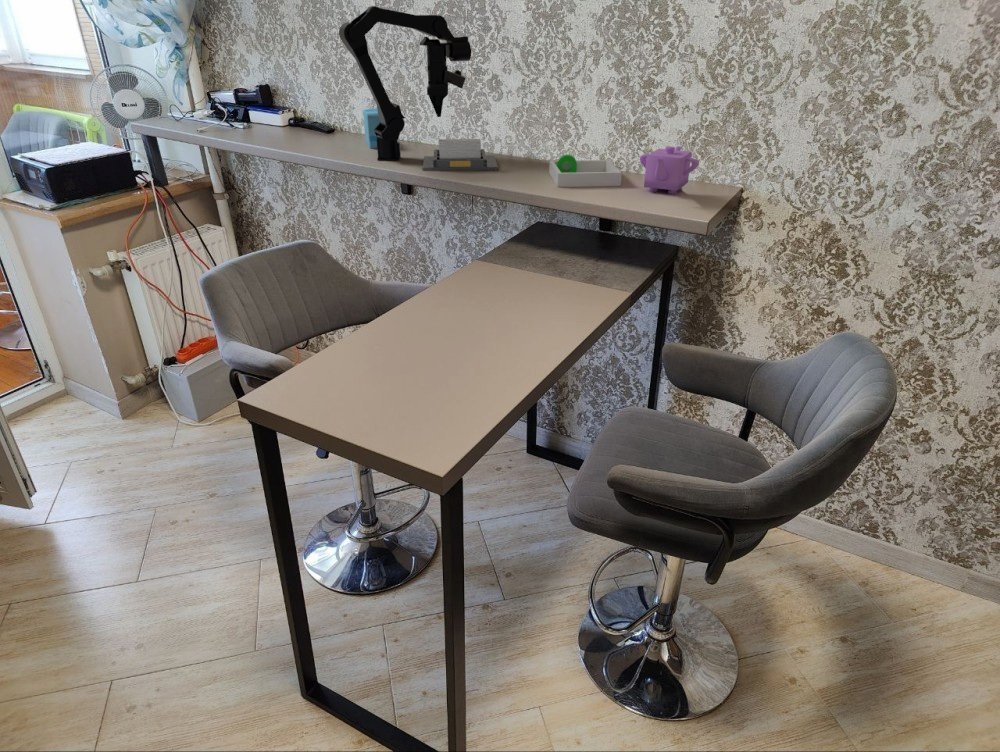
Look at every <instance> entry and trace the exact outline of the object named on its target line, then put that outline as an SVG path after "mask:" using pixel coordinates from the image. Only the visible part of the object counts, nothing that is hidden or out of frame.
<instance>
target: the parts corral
mask: <svg viewBox="0 0 1000 752" xmlns="http://www.w3.org/2000/svg"><path fill="white" fill-rule="evenodd" d="M576 162H577V172H576V173H561V172H560V170H559V169H558V167H557V163H558V160H549V169H548V172H549V175H550V177H551V178H552V180H553V183H555V185H556V187H557V188H571V187H573V188H576V187H577V188H579V187H581V188H583V187H584V188H585V187H587V188H588V187H589V188H590V187H621V185H622V175H623V174H622V172H621V170H619V168H618V167H616V166H615V165H614V164H613V163H612V162H611V161H610V160H608V159H595V160H593V159H592V160H591V159H590V160H585V159H584V160H580V159H579V160H576ZM571 167H572V164H571V163H570V162H564V163H563V165H562V168H563V169H564V170H569V169H571Z"/></svg>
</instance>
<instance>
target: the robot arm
mask: <svg viewBox="0 0 1000 752" xmlns="http://www.w3.org/2000/svg"><path fill="white" fill-rule="evenodd" d="M378 23H381V24H386V25H391V26H397V27H402V28H406V29H412V30H415V31H417V32H419V33H422V34H424V35H426V36H424V37H423V39H422V40H420V42H419V46H425V47H426V60H427V61H426V62H427V87H426V95H427V96H428V98H429V99H430V100H429V101H430V102H431V104H432V107H433V110H434V113H435V114H436V117H437V118H441V116H442V111H443V104H444V99H445V98H446V97H447V96H448V95H449V84H451V85H453V86H456V87H457V88H459V89H463V88H464V85H465V81H466V77H465V76H463V75H462V71H461V70H458V69H456V70H455V71H454V72H453V71H451V70H449V67H448V66H447V58H448V59H449V61H450V62H468V61H470V60H471V58H472V48H471V44H470V42H469V37H468V36H466V35H464V36H463V35H462V36H454V35H453V33H452V32H451V30H450V29H449V27H448V21H447V20H446V18H445V17H444V16H442V15H440V14H439V15H437V14H411V13H406V12H401V11H398V10H391V9H386V8H382V7H381V8H380V6H376V5H375V6H374V5H371V6H368V7H367V8H366V9H365V10H364V11H363V12H362V13H360V14H359V15H358V16H356V17H355V18H354V19H352V20H351V21H350V22H344V23H342V24H341V25H340V27H339V31H338V35H339V38H340V40H341V42H342V43H343V45H344V46H345V47H346V49H347V50H348V51H349V53H350V54H351V55H352V57H353V58H354V59H355V62H356V64H357V66H358V68H359V71H360V73H361V74H362V77H363V79H364V81H365V83H366V85H367V87H368V89H369V91H370V94H371V96H372V98H373V100H374V103H375V105H376V109H377V110H378V116H379V119H380V123H379V124H378V125H377V127H376V128H375V129H374V132H375V134H376V136H377V148H376V149H377V160H376V161H399V159H400V158H401V154H402V153H401V142H399V139H400V134H401V133H402V131H403V130H404V127H405V119H406V117H405V116H404V115H403V113H402V109H401V106H400V104H397V103H394V102H392V101H391V99H390V98H389V96H388V94H387V91H386V89H385V87H384V84H383V82H382V80H381V78H380V75H379V74H378V71H377V70H376V66H375V64H374V62H373V60H372V58H371V57H370V54H369V46H368V42H367V38H366V35H367V34H368V33H369V32H370V31H371V30H372V29H373V28H374V27H375V25H376V24H378ZM429 37H435V38H429ZM436 38H437V39H436ZM441 41H446V42H441Z"/></svg>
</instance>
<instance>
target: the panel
mask: <svg viewBox="0 0 1000 752" xmlns="http://www.w3.org/2000/svg"><path fill="white" fill-rule="evenodd" d="M481 142H482V141H481V138H453V139H452V138H450V139H448V138H445V139H444V138H441V139H440V138H439V139H438V150H439V154H440V160H461V159H481V149H482V148H481V146H482V145H481V144H482V143H481Z"/></svg>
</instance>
